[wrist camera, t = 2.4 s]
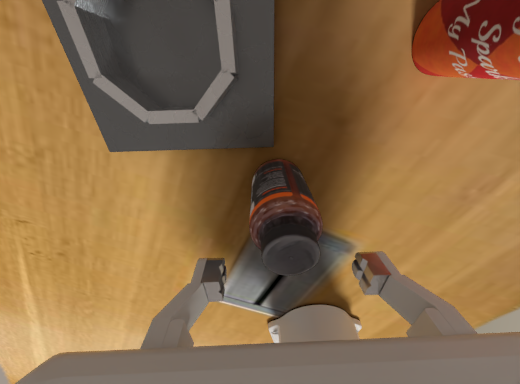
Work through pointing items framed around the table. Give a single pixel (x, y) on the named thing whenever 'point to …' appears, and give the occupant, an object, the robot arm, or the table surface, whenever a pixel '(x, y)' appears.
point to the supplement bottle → (284, 219)
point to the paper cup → (470, 39)
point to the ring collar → (173, 70)
